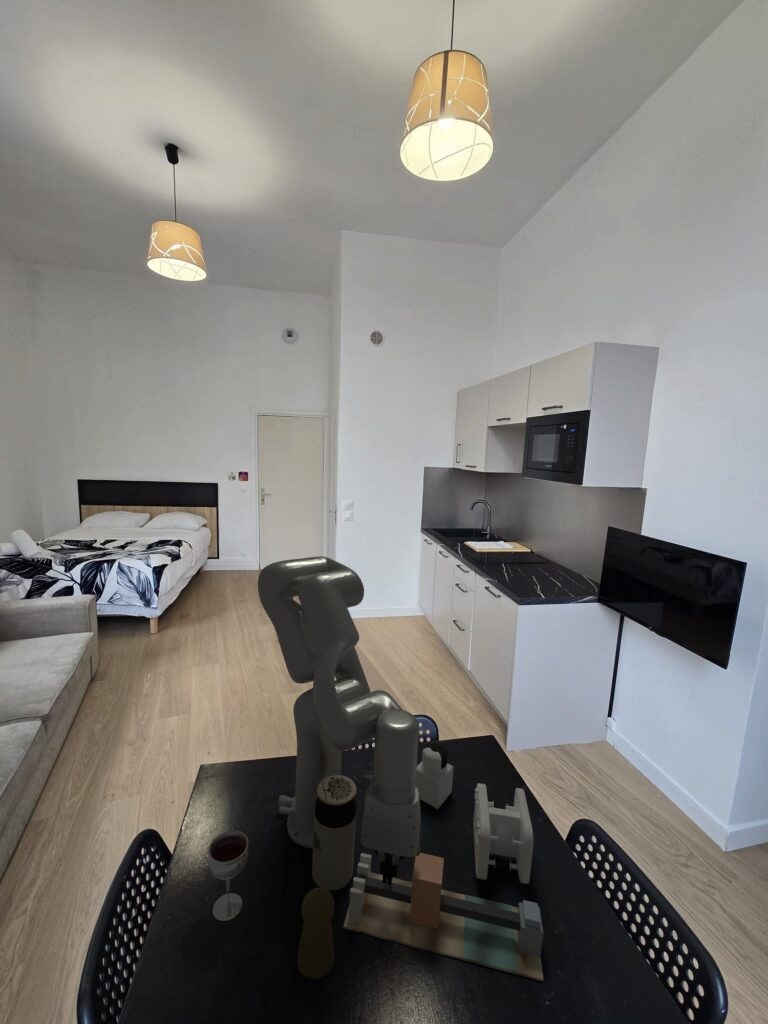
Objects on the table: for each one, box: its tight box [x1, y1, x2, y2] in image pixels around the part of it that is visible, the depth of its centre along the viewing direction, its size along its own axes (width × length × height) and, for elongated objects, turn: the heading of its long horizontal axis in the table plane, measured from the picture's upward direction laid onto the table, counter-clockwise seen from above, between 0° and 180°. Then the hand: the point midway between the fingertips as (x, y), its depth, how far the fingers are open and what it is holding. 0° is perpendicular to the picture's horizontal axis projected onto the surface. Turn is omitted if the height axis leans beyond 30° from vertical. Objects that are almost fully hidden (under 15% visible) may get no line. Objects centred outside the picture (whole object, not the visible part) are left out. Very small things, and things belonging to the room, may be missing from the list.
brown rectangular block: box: [409, 852, 445, 929], centre depth 80 cm, size 5×5×9 cm
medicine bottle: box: [415, 742, 454, 810], centre depth 109 cm, size 7×7×12 cm
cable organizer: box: [472, 782, 534, 885], centre depth 93 cm, size 15×11×12 cm
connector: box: [517, 899, 544, 957], centre depth 77 cm, size 4×4×6 cm
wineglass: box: [207, 830, 250, 922], centre depth 80 cm, size 7×7×12 cm
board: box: [343, 872, 544, 982], centre depth 80 cm, size 33×11×1 cm, turn 79°
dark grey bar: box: [359, 875, 520, 931], centre depth 80 cm, size 30×2×2 cm, turn 79°
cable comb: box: [348, 852, 372, 922], centre depth 83 cm, size 2×8×6 cm, turn 169°
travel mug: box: [311, 774, 358, 891], centre depth 87 cm, size 8×8×18 cm
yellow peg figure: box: [296, 886, 335, 980], centre depth 72 cm, size 6×6×11 cm
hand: (388, 876), depth 81 cm, fingers closed
